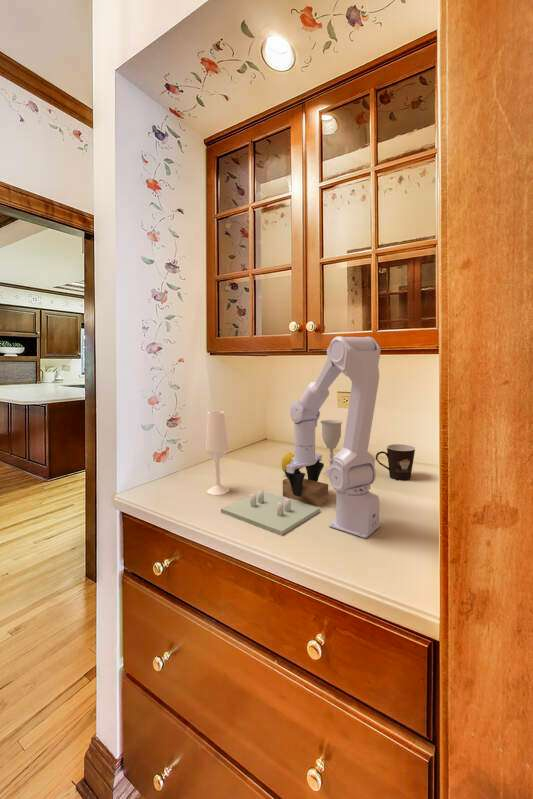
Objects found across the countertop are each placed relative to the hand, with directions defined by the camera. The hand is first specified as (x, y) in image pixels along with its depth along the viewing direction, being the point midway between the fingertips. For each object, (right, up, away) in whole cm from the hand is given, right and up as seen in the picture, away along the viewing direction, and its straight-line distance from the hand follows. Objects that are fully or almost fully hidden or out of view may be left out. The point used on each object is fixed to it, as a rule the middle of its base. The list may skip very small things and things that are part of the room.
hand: (304, 491), depth 104 cm
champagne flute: (-25, -2, +7) cm, 26 cm away
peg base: (-10, -3, -8) cm, 13 cm away
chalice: (+11, 0, +21) cm, 24 cm away
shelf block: (0, -2, 0) cm, 2 cm away
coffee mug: (+31, 0, +17) cm, 36 cm away
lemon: (-3, 0, +20) cm, 20 cm away
